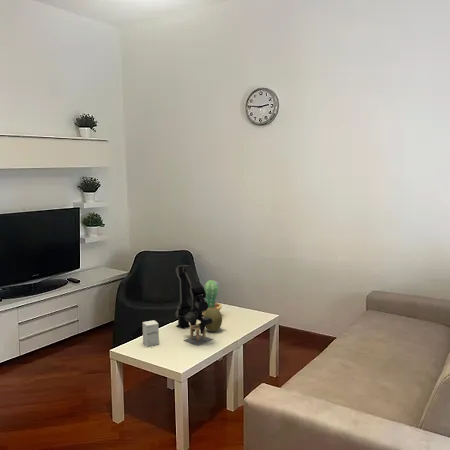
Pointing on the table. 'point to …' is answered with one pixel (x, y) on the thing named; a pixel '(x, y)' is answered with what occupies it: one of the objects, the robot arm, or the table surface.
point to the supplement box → (150, 333)
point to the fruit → (213, 318)
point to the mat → (198, 342)
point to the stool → (197, 328)
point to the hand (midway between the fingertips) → (197, 332)
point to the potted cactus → (211, 294)
